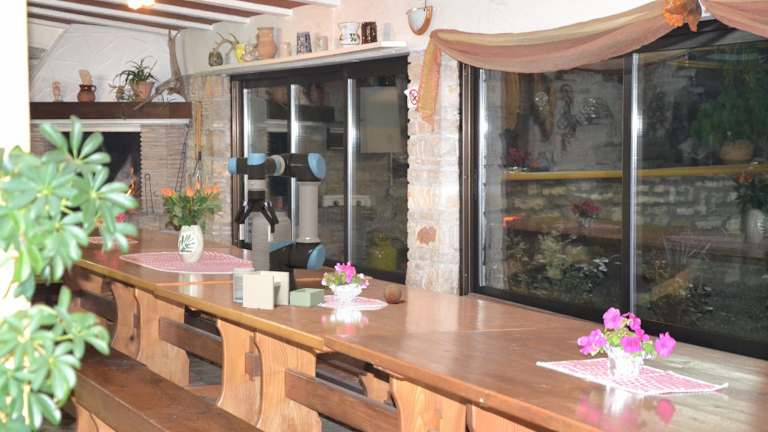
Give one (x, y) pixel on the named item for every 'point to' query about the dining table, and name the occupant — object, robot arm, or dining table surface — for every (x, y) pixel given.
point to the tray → (306, 297)
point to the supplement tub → (239, 283)
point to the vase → (261, 238)
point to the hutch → (265, 289)
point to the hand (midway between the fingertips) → (256, 240)
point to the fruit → (392, 294)
